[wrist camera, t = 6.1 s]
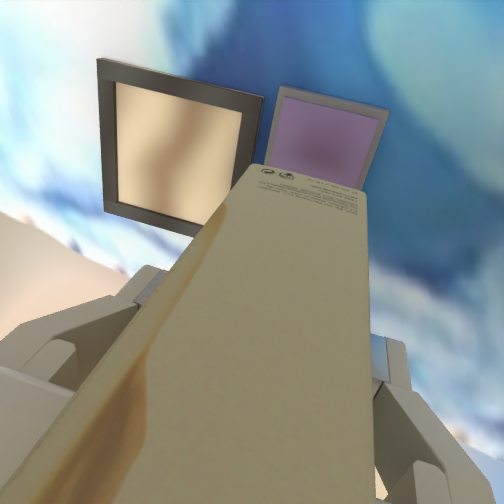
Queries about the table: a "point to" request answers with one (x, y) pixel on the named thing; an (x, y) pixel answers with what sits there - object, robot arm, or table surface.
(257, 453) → the skincare box
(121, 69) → the framed board
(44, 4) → the table surface
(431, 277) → the table surface
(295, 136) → the pad
